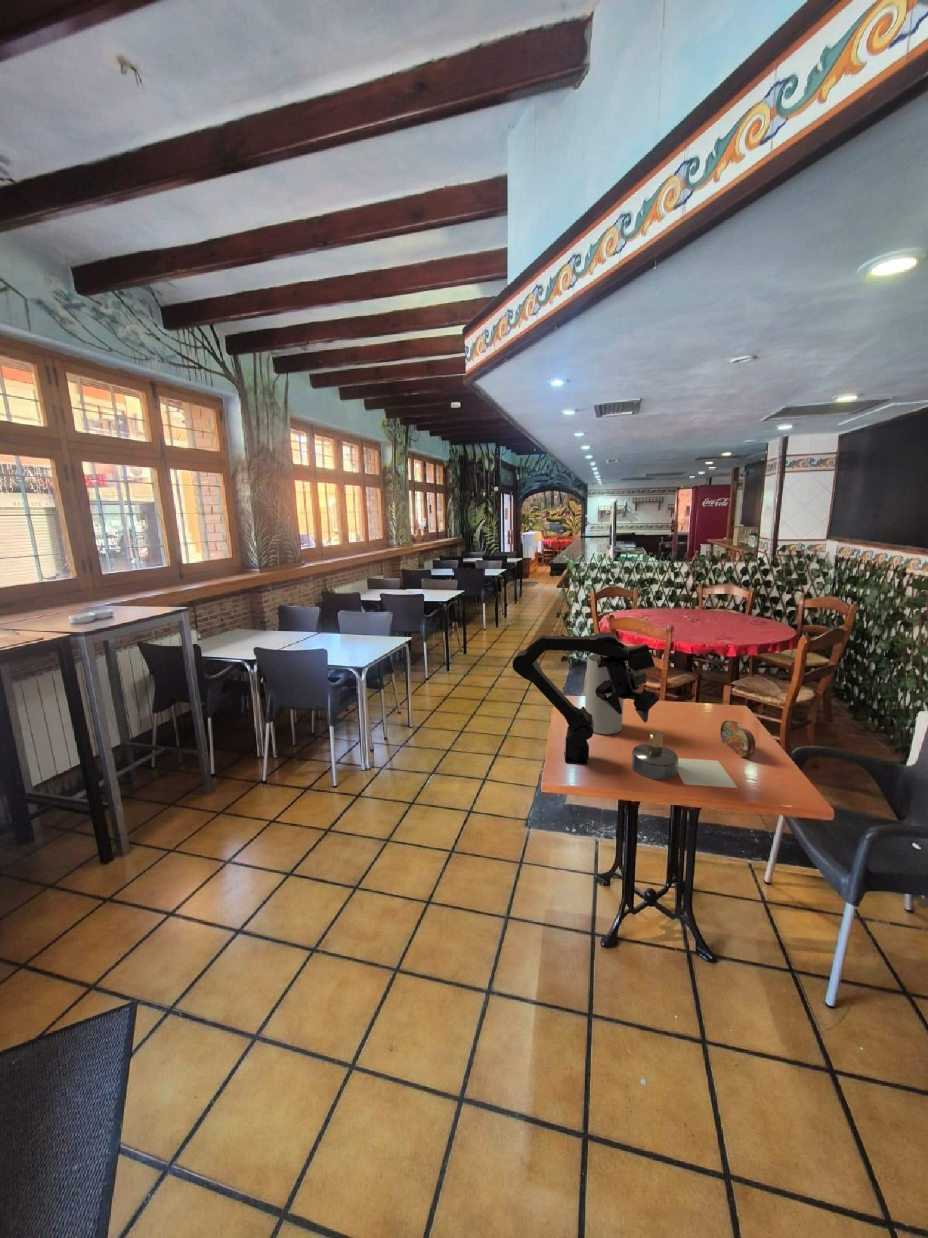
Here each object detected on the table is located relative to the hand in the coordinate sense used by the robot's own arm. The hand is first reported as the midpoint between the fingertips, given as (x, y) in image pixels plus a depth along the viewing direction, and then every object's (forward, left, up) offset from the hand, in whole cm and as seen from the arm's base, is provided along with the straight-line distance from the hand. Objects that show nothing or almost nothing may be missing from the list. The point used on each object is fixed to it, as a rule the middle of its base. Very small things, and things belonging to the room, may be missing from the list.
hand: (633, 717), depth 146 cm
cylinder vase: (-5, +21, -13) cm, 26 cm away
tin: (+34, +9, -13) cm, 37 cm away
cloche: (+5, -7, -13) cm, 16 cm away
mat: (+19, -7, -13) cm, 24 cm away
